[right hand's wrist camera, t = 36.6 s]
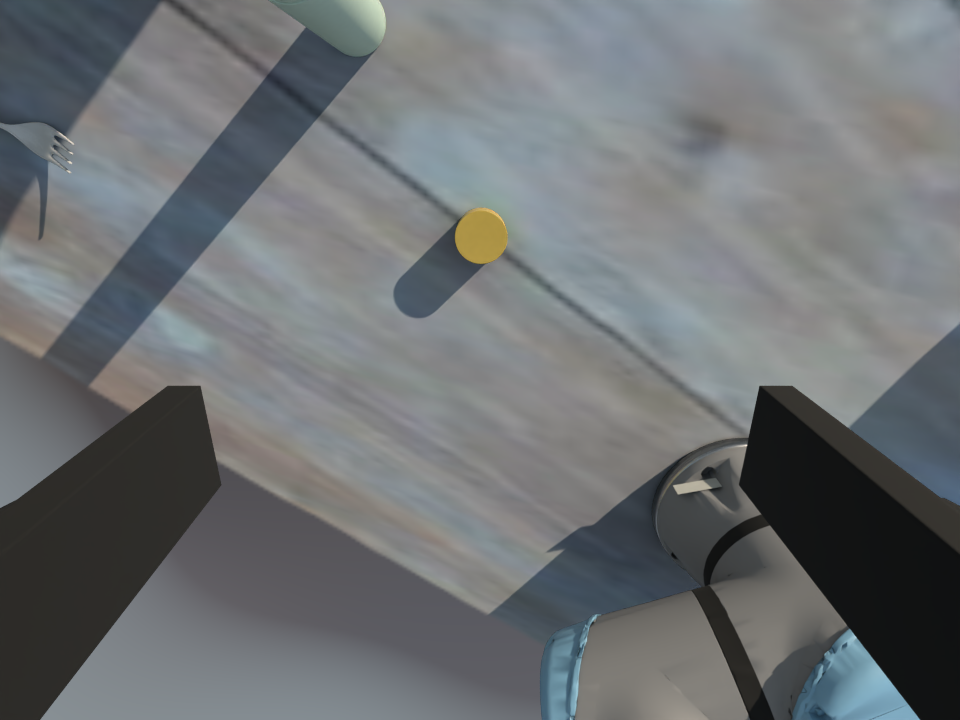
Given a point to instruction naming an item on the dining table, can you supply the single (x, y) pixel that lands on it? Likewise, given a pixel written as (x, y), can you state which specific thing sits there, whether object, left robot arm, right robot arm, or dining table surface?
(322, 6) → the bottle
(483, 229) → the cap
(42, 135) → the fork
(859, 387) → the dining table surface
